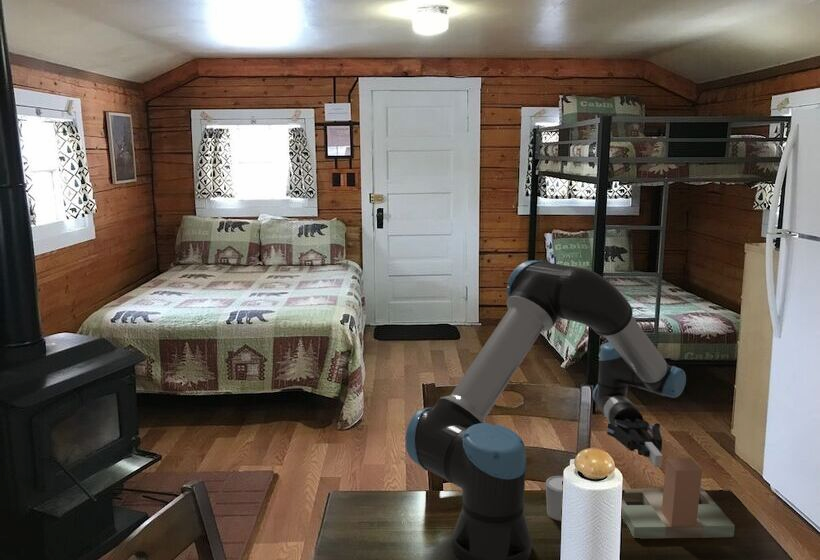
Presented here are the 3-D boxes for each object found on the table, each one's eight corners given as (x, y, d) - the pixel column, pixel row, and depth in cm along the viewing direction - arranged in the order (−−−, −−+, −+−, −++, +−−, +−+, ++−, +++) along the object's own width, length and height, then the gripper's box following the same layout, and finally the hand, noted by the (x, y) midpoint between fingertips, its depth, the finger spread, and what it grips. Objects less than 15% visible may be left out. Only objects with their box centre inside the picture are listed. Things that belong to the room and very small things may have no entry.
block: (661, 512, 139) (666, 458, 136) (685, 512, 139) (690, 458, 136) (671, 526, 134) (676, 470, 131) (696, 525, 134) (702, 470, 132)
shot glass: (578, 524, 139) (580, 493, 138) (544, 520, 140) (545, 489, 139) (576, 506, 146) (578, 476, 144) (544, 503, 147) (545, 473, 146)
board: (610, 499, 148) (611, 489, 148) (701, 498, 149) (702, 487, 148) (633, 538, 134) (634, 527, 134) (733, 537, 135) (734, 525, 134)
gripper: (648, 429, 171) (686, 476, 148) (596, 430, 171) (627, 477, 148) (650, 401, 170) (690, 445, 147) (598, 402, 169) (629, 445, 146)
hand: (658, 461), depth 147 cm, fingers closed
